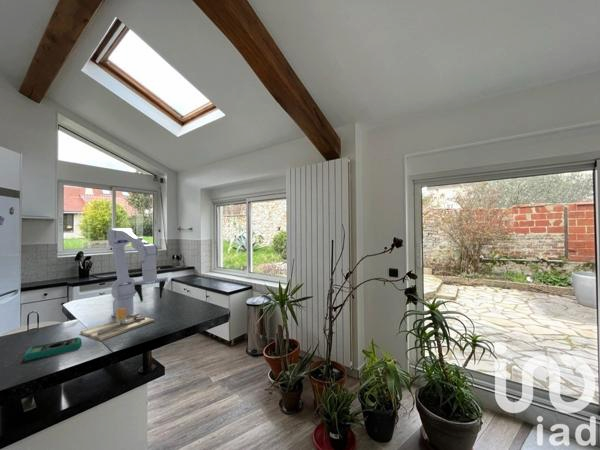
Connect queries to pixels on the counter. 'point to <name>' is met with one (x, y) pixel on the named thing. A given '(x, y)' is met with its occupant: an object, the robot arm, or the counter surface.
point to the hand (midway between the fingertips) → (151, 299)
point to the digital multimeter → (53, 348)
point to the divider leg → (121, 316)
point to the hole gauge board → (116, 327)
